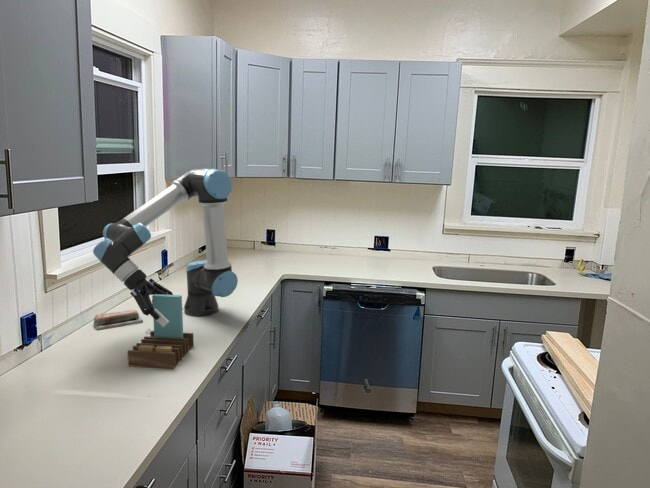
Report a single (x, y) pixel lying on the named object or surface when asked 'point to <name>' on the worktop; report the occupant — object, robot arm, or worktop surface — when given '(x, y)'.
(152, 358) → the rack
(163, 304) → the tall board
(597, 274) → the worktop surface
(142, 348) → the offcut
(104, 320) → the packaged product
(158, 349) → the offcut
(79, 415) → the worktop surface
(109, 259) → the robot arm
